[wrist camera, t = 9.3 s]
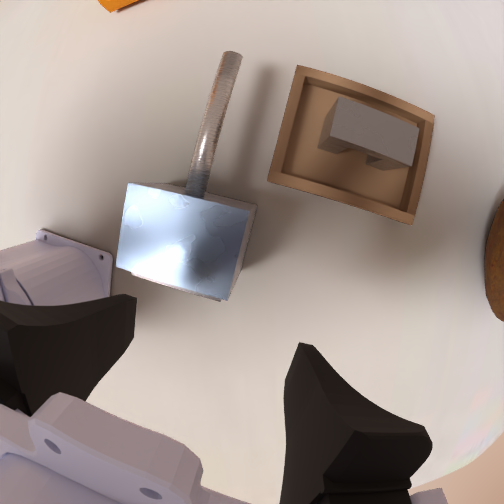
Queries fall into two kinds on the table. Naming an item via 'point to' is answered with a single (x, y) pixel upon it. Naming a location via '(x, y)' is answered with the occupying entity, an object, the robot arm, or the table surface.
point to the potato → (495, 264)
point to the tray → (349, 160)
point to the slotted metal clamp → (369, 134)
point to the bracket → (115, 4)
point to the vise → (190, 216)
